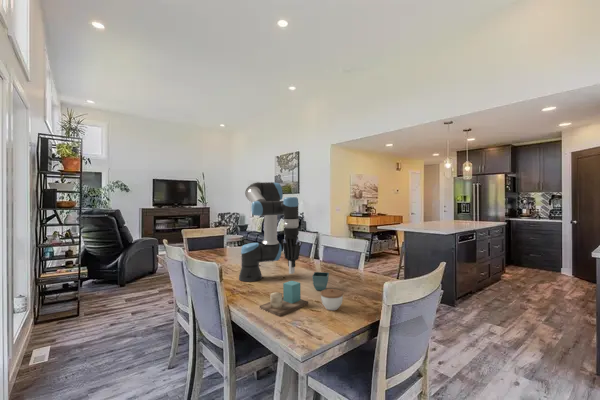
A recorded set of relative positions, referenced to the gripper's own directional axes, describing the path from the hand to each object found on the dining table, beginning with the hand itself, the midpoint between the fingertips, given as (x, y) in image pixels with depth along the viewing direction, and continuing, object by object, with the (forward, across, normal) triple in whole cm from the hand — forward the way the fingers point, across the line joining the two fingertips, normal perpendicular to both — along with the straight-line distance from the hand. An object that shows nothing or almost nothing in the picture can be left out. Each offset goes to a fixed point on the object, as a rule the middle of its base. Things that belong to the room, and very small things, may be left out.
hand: (291, 273), depth 149 cm
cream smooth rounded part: (+16, 0, -11) cm, 19 cm away
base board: (+16, 0, -5) cm, 17 cm away
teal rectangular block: (+14, 0, 0) cm, 14 cm away
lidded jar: (+16, +19, +9) cm, 26 cm away
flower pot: (+16, -3, +28) cm, 32 cm away
